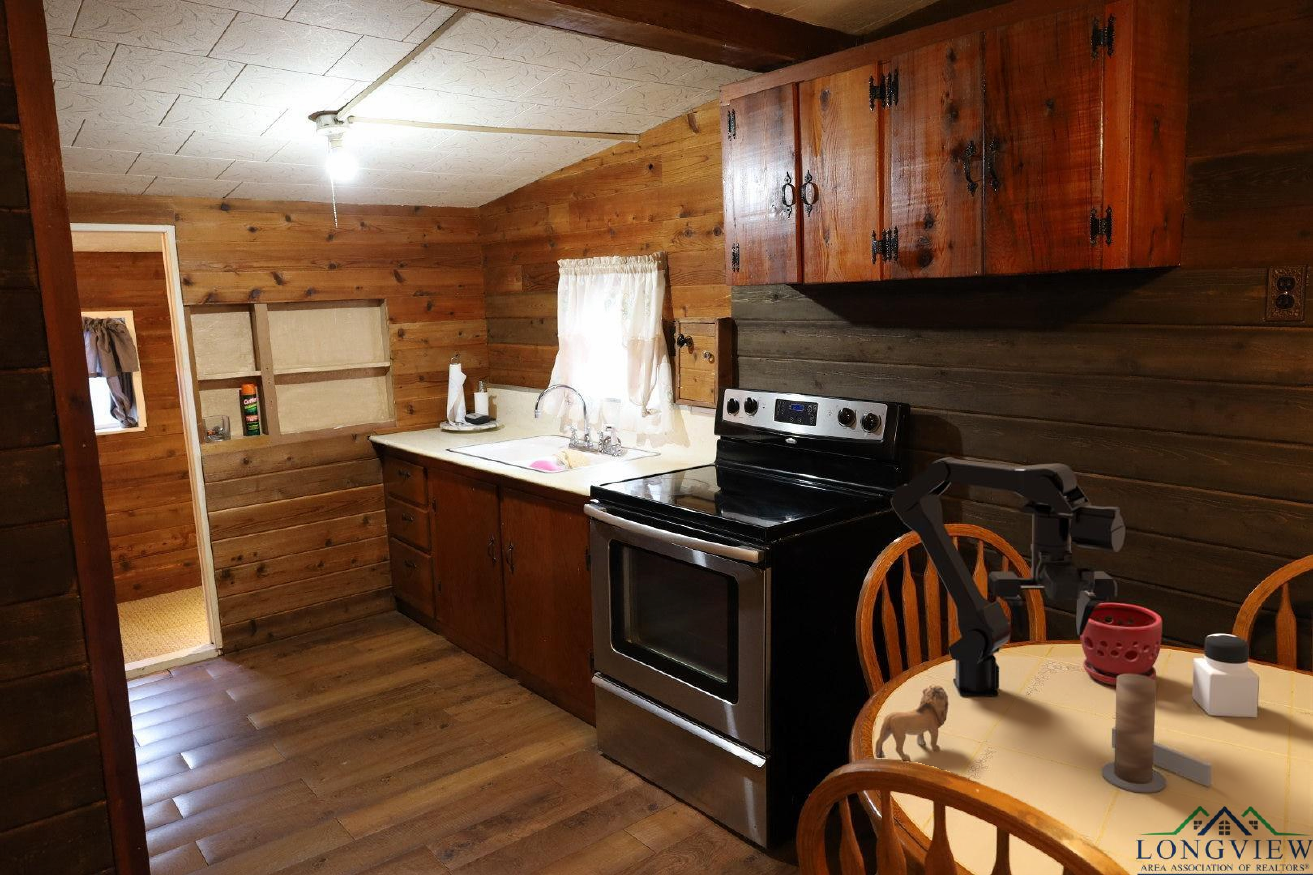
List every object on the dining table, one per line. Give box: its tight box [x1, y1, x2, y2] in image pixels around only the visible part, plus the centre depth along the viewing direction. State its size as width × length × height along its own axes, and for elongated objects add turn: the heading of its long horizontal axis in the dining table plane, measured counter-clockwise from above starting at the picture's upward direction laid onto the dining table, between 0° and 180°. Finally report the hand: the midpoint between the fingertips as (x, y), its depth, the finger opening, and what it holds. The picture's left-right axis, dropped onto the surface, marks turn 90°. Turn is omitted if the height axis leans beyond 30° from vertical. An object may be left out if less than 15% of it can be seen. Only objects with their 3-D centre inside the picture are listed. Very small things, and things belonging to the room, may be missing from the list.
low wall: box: [1111, 726, 1213, 787], centre depth 128 cm, size 14×1×3 cm, turn 30°
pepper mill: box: [1113, 674, 1157, 784], centre depth 124 cm, size 5×5×14 cm
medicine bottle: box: [1191, 633, 1260, 719], centre depth 144 cm, size 7×7×12 cm
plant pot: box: [1079, 602, 1163, 686], centre depth 158 cm, size 13×13×12 cm
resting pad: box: [1101, 761, 1167, 794], centre depth 125 cm, size 8×8×1 cm
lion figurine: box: [874, 684, 949, 761], centre depth 135 cm, size 15×5×9 cm, turn 123°
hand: (1049, 634), depth 145 cm, fingers open, 9 cm apart
